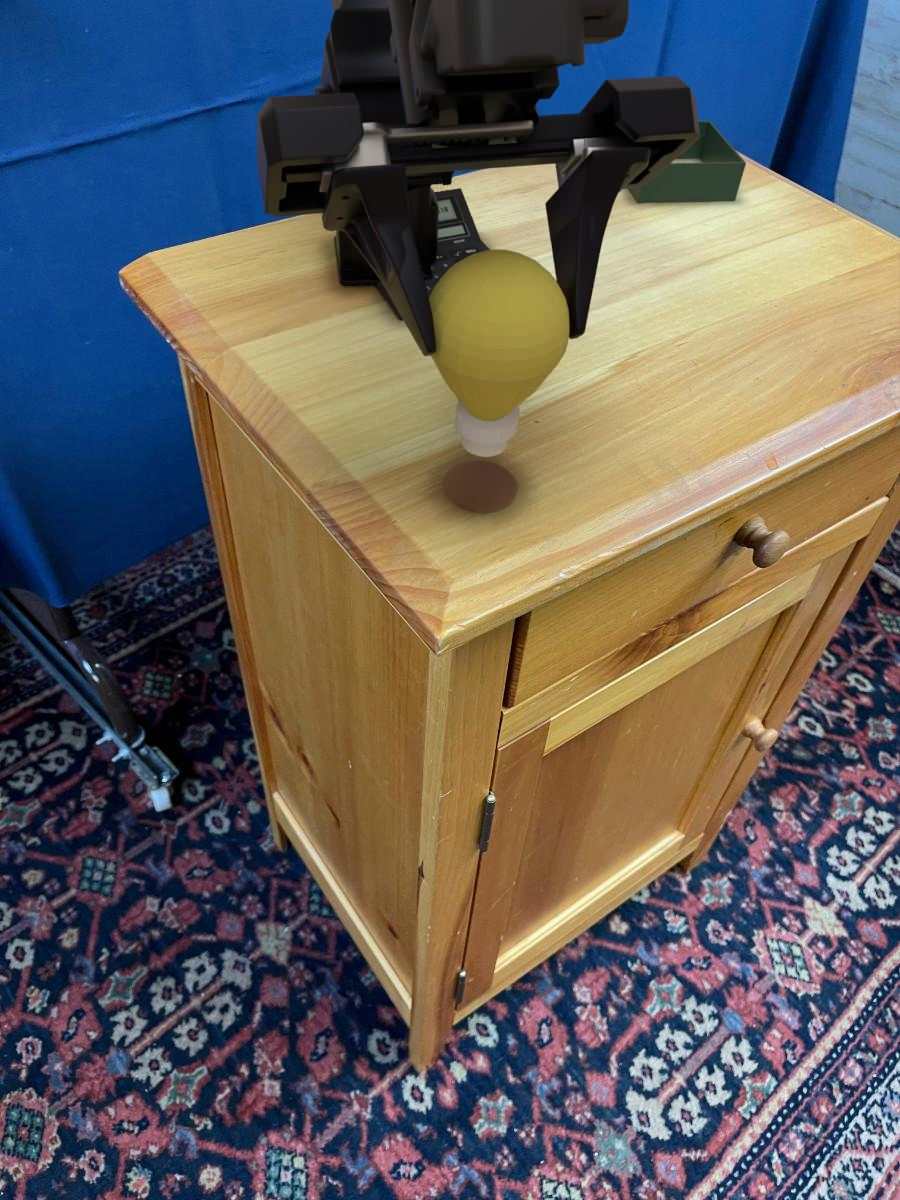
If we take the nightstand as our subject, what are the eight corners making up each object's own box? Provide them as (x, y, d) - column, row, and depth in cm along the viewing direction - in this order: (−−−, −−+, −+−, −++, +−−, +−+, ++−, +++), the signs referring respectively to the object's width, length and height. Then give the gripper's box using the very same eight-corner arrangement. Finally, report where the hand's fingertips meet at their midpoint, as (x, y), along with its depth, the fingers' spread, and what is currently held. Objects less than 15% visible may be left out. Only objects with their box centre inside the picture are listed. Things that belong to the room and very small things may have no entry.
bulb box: (637, 202, 70) (645, 164, 68) (609, 158, 75) (616, 121, 73) (735, 200, 71) (746, 162, 69) (700, 157, 76) (710, 120, 74)
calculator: (400, 325, 57) (400, 283, 55) (341, 244, 64) (339, 203, 62) (525, 300, 60) (530, 259, 58) (456, 224, 67) (458, 185, 65)
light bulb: (539, 401, 47) (568, 222, 39) (557, 485, 43) (594, 303, 35) (416, 401, 46) (422, 219, 39) (422, 486, 42) (429, 301, 35)
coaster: (449, 515, 45) (449, 512, 45) (438, 465, 48) (438, 462, 48) (524, 509, 46) (524, 507, 46) (509, 460, 48) (509, 458, 48)
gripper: (224, -177, 27) (309, 326, 29) (750, -170, 31) (797, 273, 33) (231, 24, 38) (293, 382, 40) (621, 11, 42) (661, 337, 44)
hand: (504, 345), depth 39 cm, fingers closed on light bulb, 6 cm apart
